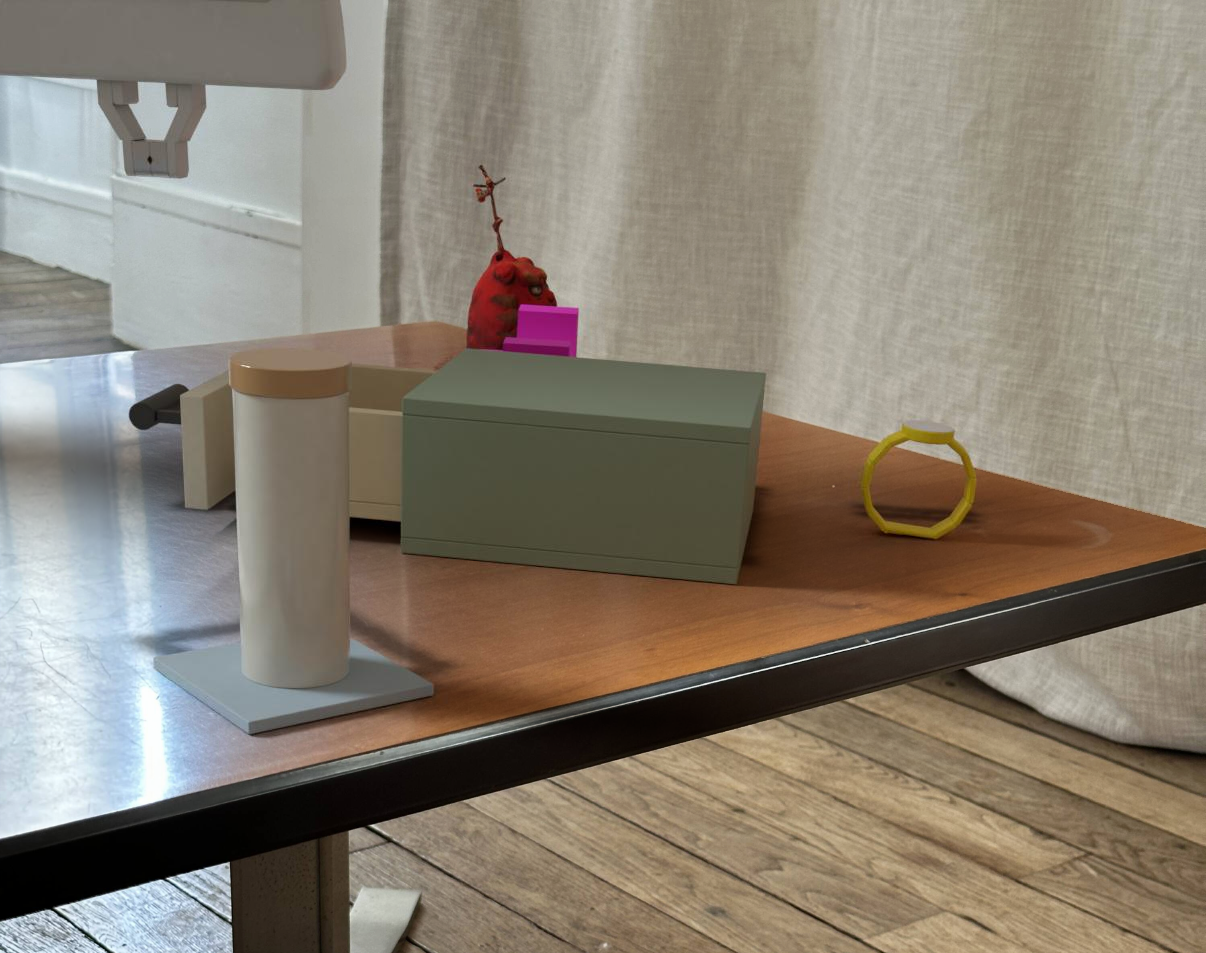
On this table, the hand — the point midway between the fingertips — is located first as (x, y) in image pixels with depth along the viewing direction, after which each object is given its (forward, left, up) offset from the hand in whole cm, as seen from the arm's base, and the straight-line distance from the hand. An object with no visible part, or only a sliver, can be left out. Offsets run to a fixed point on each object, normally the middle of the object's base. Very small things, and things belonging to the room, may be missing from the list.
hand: (157, 176), depth 90 cm
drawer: (+11, -5, -15) cm, 19 cm away
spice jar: (+17, -31, -15) cm, 38 cm away
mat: (+17, -31, -16) cm, 39 cm away
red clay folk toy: (+14, +32, -16) cm, 38 cm away
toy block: (+18, +13, -16) cm, 27 cm away
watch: (+42, 0, -16) cm, 45 cm away
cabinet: (+25, -5, -16) cm, 30 cm away
